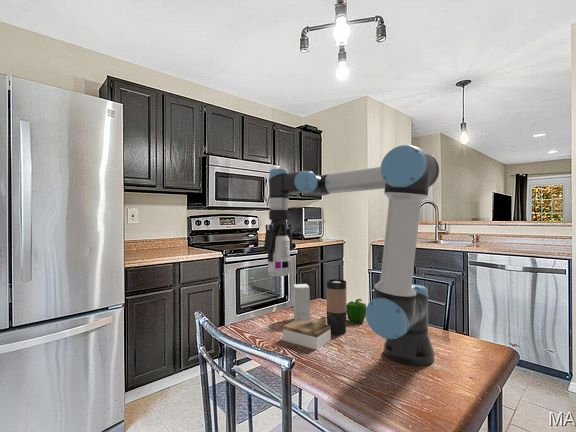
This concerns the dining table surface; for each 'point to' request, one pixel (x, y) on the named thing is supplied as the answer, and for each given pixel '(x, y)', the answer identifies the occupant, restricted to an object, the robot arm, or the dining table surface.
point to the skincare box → (301, 301)
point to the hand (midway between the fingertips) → (279, 268)
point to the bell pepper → (356, 311)
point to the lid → (308, 326)
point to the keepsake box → (307, 338)
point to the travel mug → (336, 306)
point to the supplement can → (281, 256)
